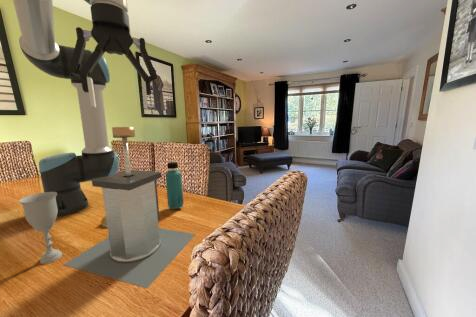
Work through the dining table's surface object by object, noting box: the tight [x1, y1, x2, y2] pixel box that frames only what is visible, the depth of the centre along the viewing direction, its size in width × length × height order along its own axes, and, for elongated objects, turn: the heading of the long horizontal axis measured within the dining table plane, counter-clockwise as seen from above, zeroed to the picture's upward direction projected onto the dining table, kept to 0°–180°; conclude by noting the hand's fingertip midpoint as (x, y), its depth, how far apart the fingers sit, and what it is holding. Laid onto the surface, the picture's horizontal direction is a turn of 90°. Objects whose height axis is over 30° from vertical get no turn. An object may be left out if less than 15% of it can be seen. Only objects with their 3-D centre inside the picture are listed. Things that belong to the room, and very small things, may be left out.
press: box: [91, 169, 162, 263], centre depth 58 cm, size 13×16×22 cm
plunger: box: [111, 126, 136, 178], centre depth 54 cm, size 9×9×23 cm
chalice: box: [18, 191, 63, 265], centre depth 53 cm, size 7×7×18 cm
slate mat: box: [63, 227, 197, 289], centre depth 58 cm, size 26×22×1 cm
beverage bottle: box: [164, 161, 185, 209], centre depth 83 cm, size 6×7×20 cm
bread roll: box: [100, 215, 108, 228], centre depth 74 cm, size 8×9×4 cm
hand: (121, 107), depth 51 cm, fingers open, 11 cm apart
